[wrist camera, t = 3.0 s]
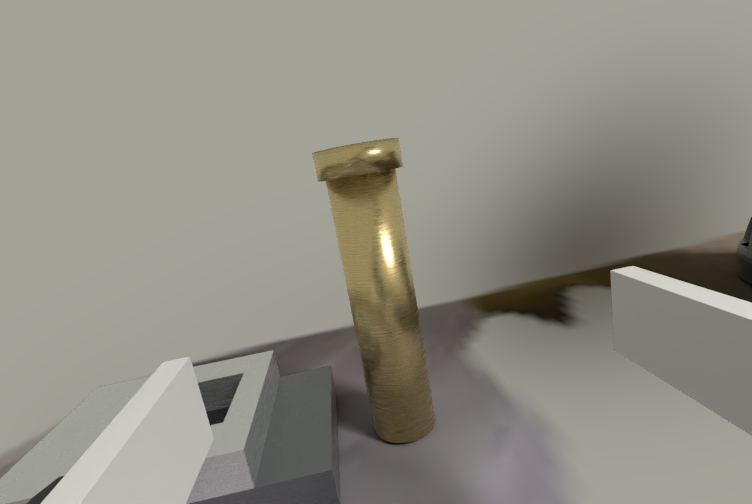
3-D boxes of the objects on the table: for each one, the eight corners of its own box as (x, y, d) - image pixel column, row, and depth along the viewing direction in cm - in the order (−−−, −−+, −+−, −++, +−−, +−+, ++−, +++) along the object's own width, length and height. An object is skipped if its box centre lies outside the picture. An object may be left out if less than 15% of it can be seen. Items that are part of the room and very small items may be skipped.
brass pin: (431, 393, 26) (391, 141, 23) (451, 437, 22) (406, 134, 19) (364, 408, 26) (313, 155, 22) (372, 456, 22) (310, 151, 18)
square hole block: (336, 391, 28) (324, 339, 28) (340, 506, 19) (323, 431, 18) (116, 439, 27) (97, 386, 26) (-1, 589, 18) (-37, 513, 17)
